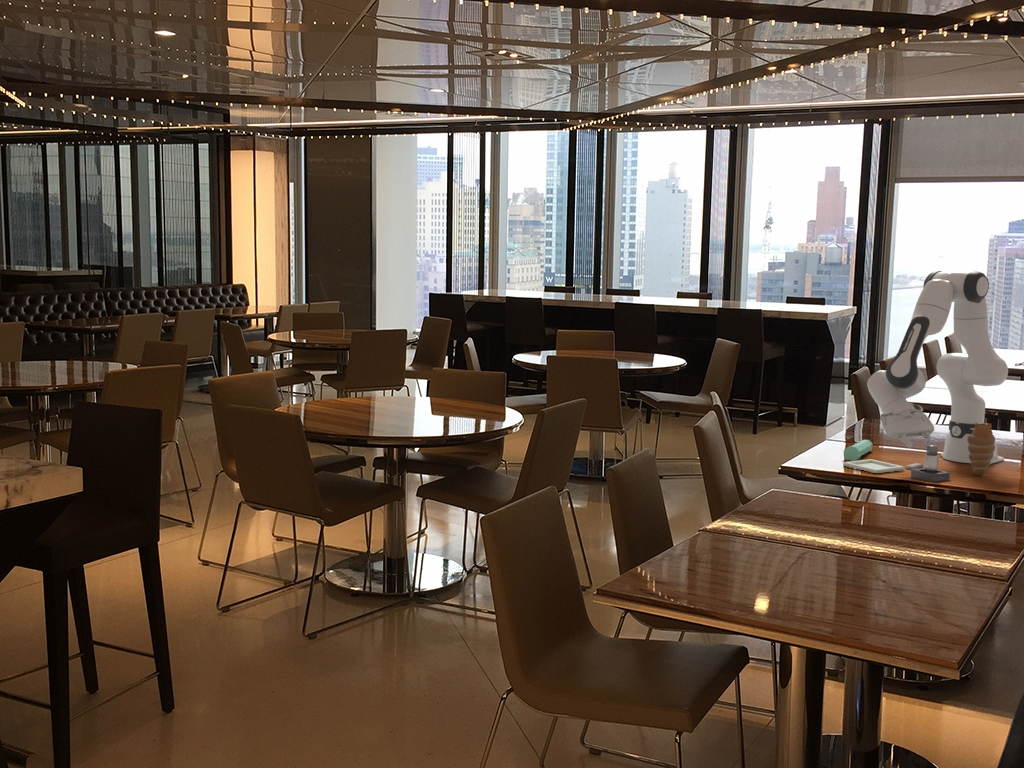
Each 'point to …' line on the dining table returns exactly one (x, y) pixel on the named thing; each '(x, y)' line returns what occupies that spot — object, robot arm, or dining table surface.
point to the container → (857, 450)
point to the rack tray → (873, 466)
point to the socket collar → (930, 475)
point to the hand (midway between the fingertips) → (920, 445)
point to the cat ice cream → (981, 448)
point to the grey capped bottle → (931, 459)
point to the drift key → (914, 466)
